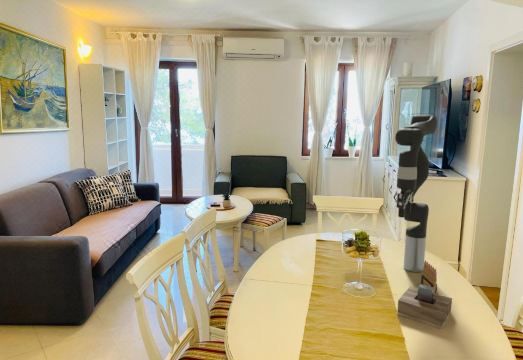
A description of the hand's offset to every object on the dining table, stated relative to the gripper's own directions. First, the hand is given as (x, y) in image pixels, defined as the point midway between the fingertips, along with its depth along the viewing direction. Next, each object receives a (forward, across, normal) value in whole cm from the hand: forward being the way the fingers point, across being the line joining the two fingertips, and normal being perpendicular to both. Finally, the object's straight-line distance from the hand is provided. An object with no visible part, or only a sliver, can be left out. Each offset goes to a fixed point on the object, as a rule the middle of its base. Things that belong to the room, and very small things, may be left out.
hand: (404, 214), depth 161 cm
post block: (+34, -14, -14) cm, 39 cm away
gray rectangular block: (+33, -14, -14) cm, 39 cm away
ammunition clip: (+34, +7, -10) cm, 36 cm away
